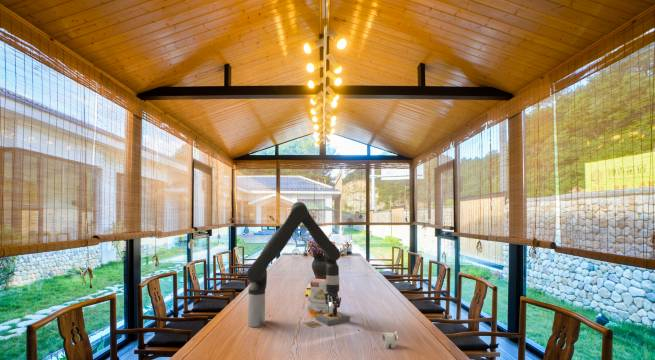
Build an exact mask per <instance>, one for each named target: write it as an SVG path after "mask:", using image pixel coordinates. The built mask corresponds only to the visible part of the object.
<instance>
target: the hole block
mask: <svg viewBox="0 0 655 360" xmlns="http://www.w3.org/2000/svg"><path fill="white" fill-rule="evenodd" d="M315 321H316V322H318V323H320V324H322V325H323V324H324V326H332V325H333V326H334V325H336V324H337V325H338V324H342V323H347V322H350V321H351V317H350V315H348V314H345V313H343V312H340V311H338V310H337V315H336V317H332V318H331V317H329V313H326V314H322V313H320V314H316V315H315Z"/></svg>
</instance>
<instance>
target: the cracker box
mask: <svg viewBox="0 0 655 360" xmlns="http://www.w3.org/2000/svg"><path fill="white" fill-rule="evenodd" d="M326 293H328V292H327V291H326V278H325V279H324V278H313V279H311V280H310V298H309V299H310V311H309V312H310V313H313V314H326V313H329V311H328V305H327V304H326V300H325V294H326ZM327 302H328V300H327Z"/></svg>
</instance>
